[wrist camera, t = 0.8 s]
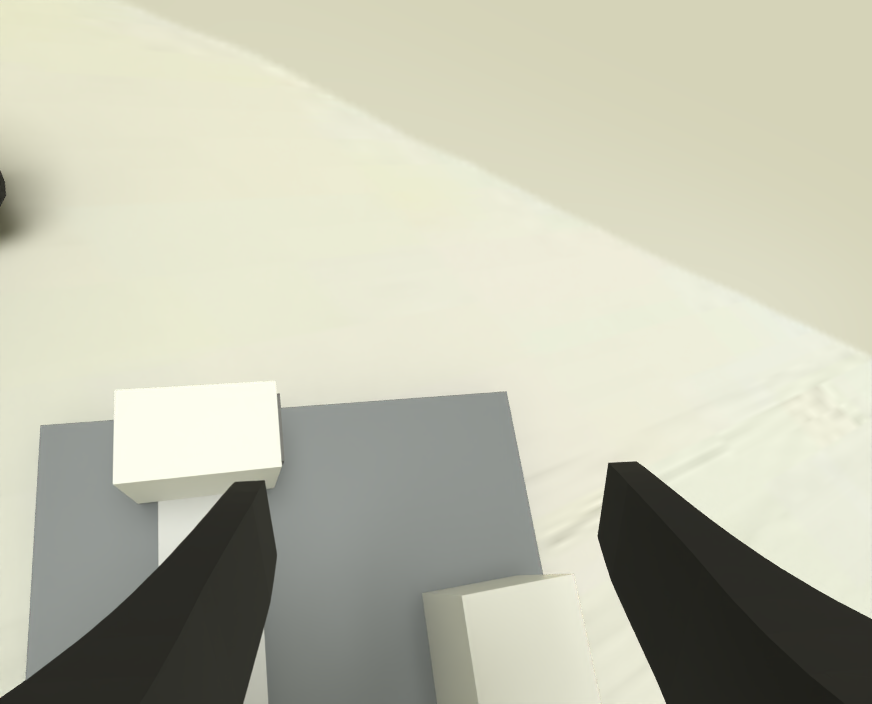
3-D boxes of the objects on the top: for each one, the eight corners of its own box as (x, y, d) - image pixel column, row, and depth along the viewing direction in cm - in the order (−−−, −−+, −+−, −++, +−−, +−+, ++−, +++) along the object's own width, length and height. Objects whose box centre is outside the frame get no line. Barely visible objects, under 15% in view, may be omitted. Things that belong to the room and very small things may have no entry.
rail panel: (566, 753, 26) (667, 806, 19) (23, 921, 19) (-79, 1080, 13) (497, 398, 31) (560, 352, 25) (49, 432, 24) (-15, 381, 18)
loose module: (541, 700, 25) (606, 726, 20) (440, 727, 23) (487, 762, 19) (517, 575, 26) (574, 573, 22) (422, 593, 25) (461, 595, 20)
